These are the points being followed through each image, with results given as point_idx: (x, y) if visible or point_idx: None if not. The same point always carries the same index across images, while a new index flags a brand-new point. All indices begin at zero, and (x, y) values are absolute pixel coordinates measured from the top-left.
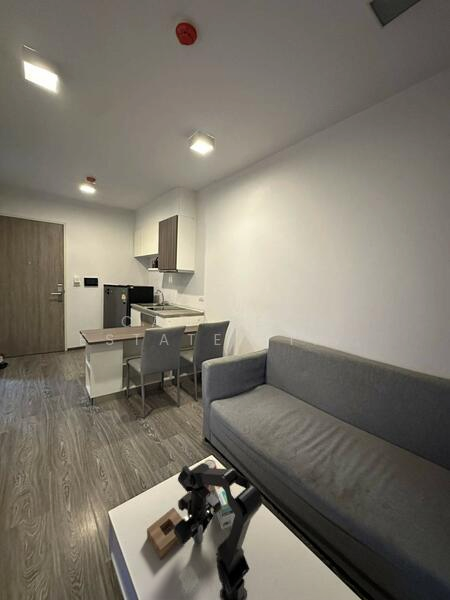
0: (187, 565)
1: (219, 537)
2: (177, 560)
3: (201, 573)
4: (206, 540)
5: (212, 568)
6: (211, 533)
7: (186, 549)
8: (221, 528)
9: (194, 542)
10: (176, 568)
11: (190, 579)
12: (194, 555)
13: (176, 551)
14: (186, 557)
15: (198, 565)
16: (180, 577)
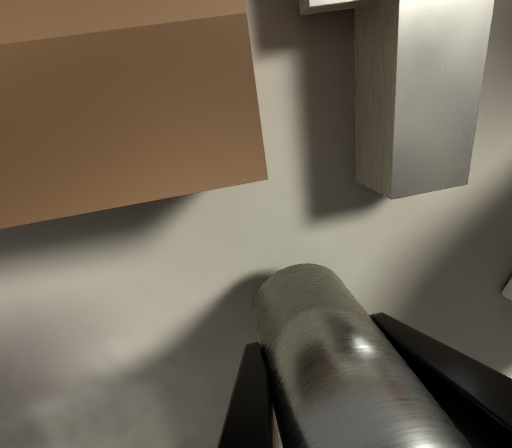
0: (125, 376)
1: (443, 327)
2: (43, 313)
3: (203, 442)
4: (357, 299)
5: (280, 443)
6: (424, 274)
7: (164, 275)
8: (506, 289)
9: (253, 311)
10: (18, 359)
11: (116, 445)
12: (211, 344)
13: (52, 240)
14: (139, 328)
15: (207, 404)
16: (41, 416)
